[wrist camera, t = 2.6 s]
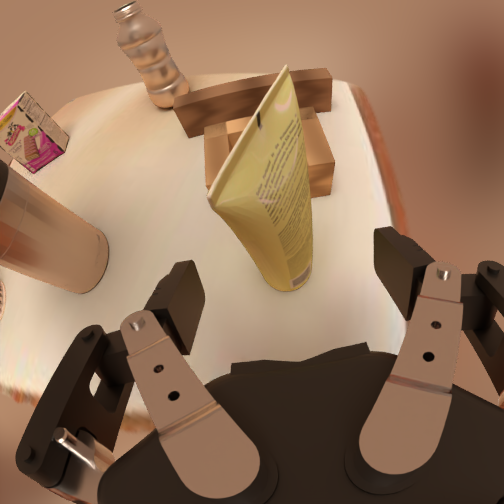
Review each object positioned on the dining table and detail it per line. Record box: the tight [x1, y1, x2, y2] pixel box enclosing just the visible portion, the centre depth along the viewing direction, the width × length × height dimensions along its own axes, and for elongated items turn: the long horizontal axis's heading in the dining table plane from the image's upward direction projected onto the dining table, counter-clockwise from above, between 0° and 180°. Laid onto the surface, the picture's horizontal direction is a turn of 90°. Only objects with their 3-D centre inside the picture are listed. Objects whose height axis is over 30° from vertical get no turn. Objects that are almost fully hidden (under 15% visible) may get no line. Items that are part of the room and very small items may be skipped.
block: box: [204, 106, 335, 198], centre depth 28 cm, size 12×8×6 cm, turn 98°
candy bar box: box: [0, 91, 69, 174], centre depth 35 cm, size 11×5×16 cm, turn 104°
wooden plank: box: [173, 68, 332, 138], centre depth 31 cm, size 20×2×6 cm, turn 98°
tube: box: [207, 65, 313, 291], centre depth 18 cm, size 6×5×20 cm
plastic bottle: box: [113, 0, 189, 108], centre depth 30 cm, size 6×7×20 cm
